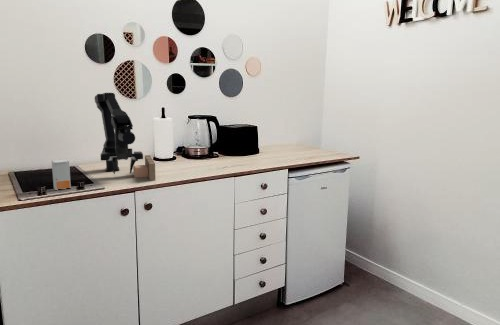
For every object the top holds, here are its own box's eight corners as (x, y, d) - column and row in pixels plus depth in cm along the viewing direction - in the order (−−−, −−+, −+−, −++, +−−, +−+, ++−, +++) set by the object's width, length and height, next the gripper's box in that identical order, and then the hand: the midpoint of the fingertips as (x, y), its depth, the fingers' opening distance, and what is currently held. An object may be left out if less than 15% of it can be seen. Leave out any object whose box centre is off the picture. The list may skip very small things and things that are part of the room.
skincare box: (55, 191, 149) (52, 162, 146) (53, 188, 152) (51, 160, 150) (71, 188, 152) (69, 160, 150) (69, 186, 155) (67, 159, 153)
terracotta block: (133, 174, 178) (133, 165, 177) (146, 173, 181) (145, 164, 180) (135, 177, 173) (134, 168, 172) (148, 176, 175) (147, 167, 174)
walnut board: (145, 170, 187) (144, 155, 185) (150, 170, 188) (149, 155, 186) (149, 180, 168) (149, 163, 166) (155, 180, 168) (154, 163, 167)
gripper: (99, 144, 159) (101, 178, 163) (143, 143, 166) (144, 176, 169) (100, 140, 170) (101, 173, 173) (141, 139, 176) (142, 171, 180)
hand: (122, 173), depth 173 cm, fingers open, 7 cm apart
